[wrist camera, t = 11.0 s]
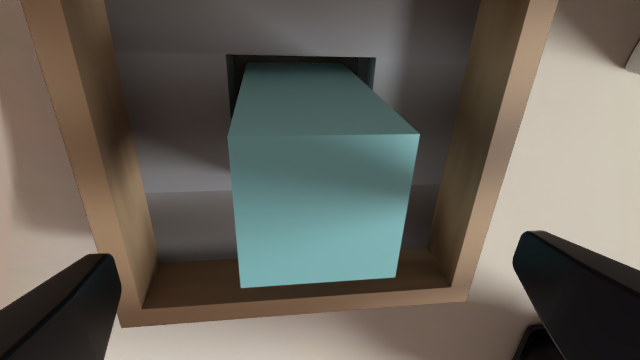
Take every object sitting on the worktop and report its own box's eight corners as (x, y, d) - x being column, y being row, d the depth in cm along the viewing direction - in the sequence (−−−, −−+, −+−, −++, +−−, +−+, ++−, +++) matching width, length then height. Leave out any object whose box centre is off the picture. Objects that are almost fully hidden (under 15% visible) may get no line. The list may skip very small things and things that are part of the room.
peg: (337, 150, 20) (395, 277, 11) (252, 151, 19) (240, 288, 10) (342, 63, 18) (420, 134, 9) (247, 61, 17) (227, 136, 8)
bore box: (420, 230, 23) (465, 301, 18) (157, 243, 21) (121, 328, 16) (481, -71, 16) (590, -104, 10) (86, -100, 13) (-30, -159, 8)
